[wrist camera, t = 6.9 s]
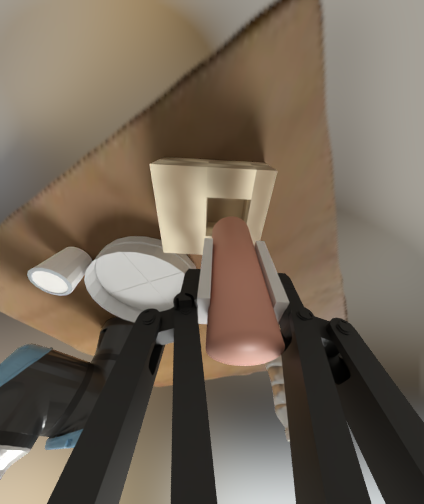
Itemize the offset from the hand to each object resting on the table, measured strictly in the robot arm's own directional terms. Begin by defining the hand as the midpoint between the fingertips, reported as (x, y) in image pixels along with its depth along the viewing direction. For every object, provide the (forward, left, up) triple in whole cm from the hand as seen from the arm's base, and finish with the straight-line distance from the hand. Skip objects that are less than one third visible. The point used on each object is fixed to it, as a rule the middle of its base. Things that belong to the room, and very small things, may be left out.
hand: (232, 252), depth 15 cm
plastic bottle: (+21, -51, -14) cm, 57 cm away
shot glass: (-29, -13, -14) cm, 35 cm away
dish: (-15, -18, -14) cm, 28 cm away
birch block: (-2, 0, -14) cm, 14 cm away
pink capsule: (0, 0, -3) cm, 3 cm away
